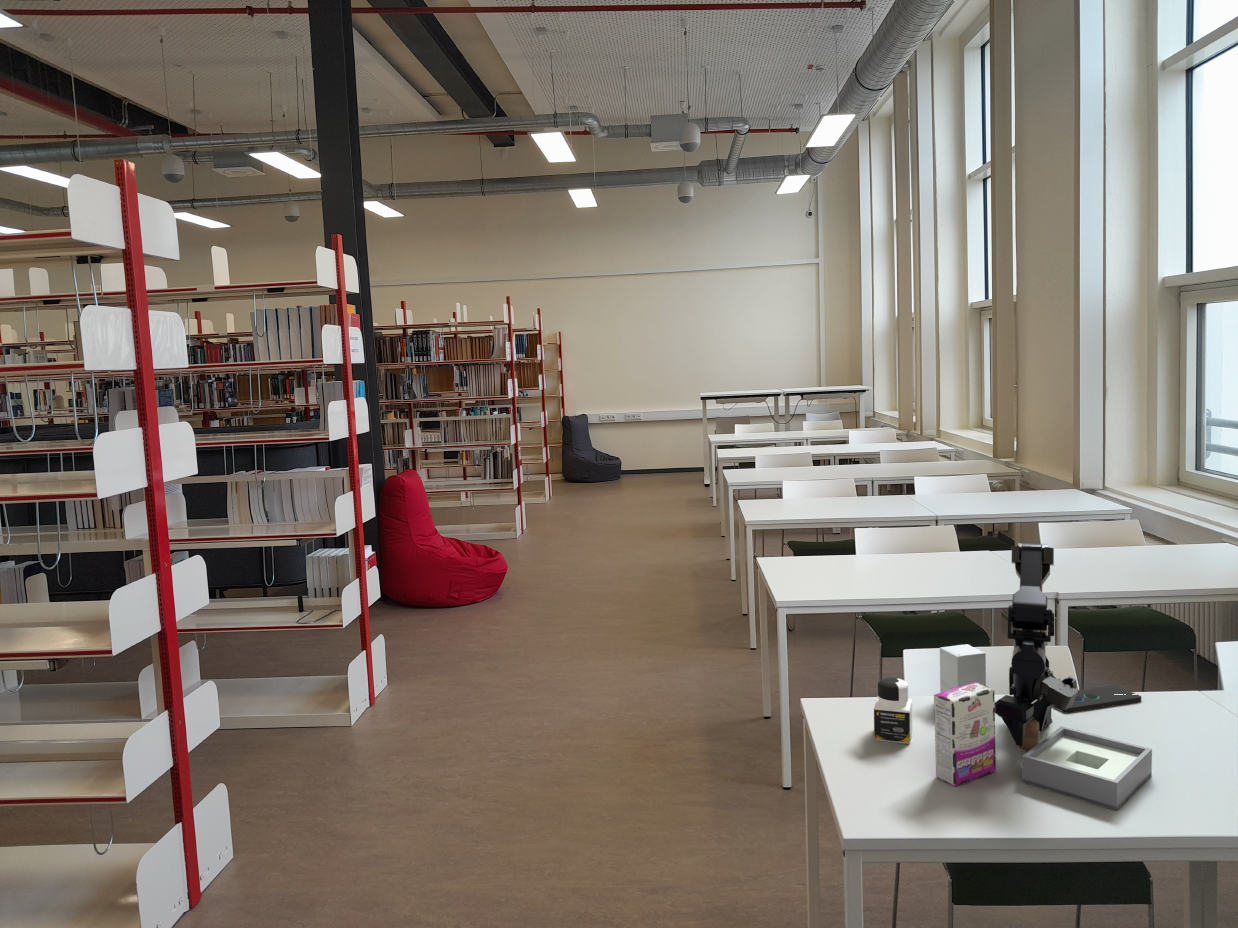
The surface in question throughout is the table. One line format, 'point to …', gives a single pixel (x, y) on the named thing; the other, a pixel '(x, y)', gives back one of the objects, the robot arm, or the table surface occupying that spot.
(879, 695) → the medicine bottle
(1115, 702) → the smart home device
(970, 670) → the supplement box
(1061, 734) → the box
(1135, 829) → the table surface
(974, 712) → the candy bar box
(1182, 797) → the table surface
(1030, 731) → the peg
